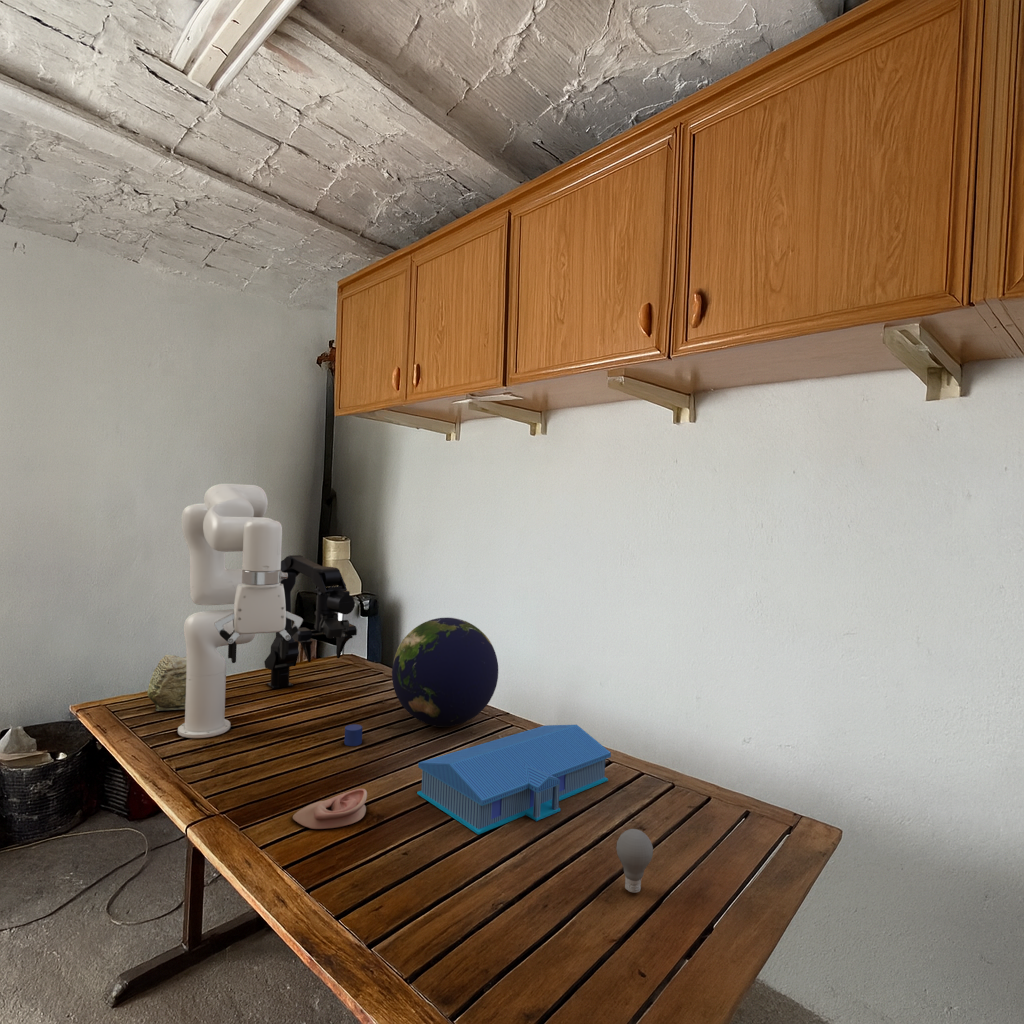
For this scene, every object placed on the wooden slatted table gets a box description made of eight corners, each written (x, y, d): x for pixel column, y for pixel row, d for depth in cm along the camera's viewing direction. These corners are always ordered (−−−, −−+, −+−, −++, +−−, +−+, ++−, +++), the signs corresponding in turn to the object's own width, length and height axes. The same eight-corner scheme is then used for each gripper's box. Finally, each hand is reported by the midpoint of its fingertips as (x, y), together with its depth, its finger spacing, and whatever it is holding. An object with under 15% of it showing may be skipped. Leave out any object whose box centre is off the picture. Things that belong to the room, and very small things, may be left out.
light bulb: (610, 879, 108) (613, 822, 108) (644, 879, 109) (647, 822, 109) (619, 902, 102) (622, 840, 102) (655, 901, 103) (658, 840, 103)
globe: (368, 731, 171) (372, 620, 171) (424, 700, 199) (427, 605, 198) (467, 752, 160) (472, 634, 160) (512, 716, 188) (516, 616, 187)
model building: (489, 841, 119) (491, 789, 119) (416, 793, 137) (417, 747, 137) (619, 785, 145) (621, 742, 145) (543, 750, 163) (545, 712, 163)
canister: (357, 747, 161) (358, 731, 161) (341, 745, 162) (342, 729, 162) (364, 740, 165) (365, 725, 165) (348, 738, 166) (349, 723, 166)
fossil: (144, 707, 182) (145, 655, 182) (212, 696, 194) (213, 647, 194) (151, 716, 175) (153, 662, 175) (221, 703, 188) (223, 653, 188)
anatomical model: (284, 804, 122) (315, 778, 133) (284, 824, 122) (314, 797, 133) (348, 814, 119) (374, 787, 130) (348, 835, 119) (373, 806, 130)
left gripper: (301, 575, 140) (298, 652, 140) (215, 577, 132) (212, 658, 132) (307, 580, 133) (304, 660, 134) (216, 581, 125) (213, 667, 126)
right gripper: (306, 616, 181) (304, 670, 181) (366, 611, 193) (364, 662, 193) (292, 609, 189) (289, 661, 190) (350, 605, 201) (347, 654, 202)
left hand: (258, 659), depth 133 cm, fingers open, 9 cm apart
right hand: (323, 660), depth 193 cm, fingers open, 9 cm apart
